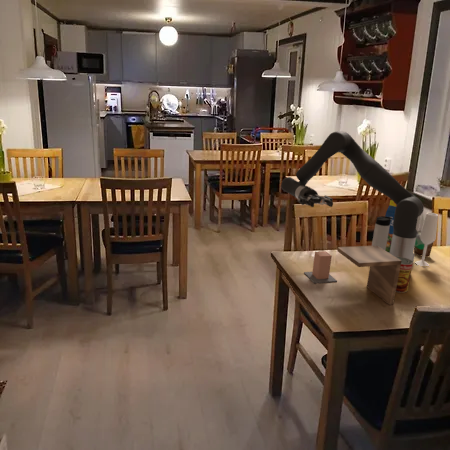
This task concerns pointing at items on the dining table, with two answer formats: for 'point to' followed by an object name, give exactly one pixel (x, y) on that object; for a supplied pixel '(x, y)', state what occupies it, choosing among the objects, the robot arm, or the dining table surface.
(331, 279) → the slate mat
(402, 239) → the robot arm
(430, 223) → the champagne flute
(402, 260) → the canned food
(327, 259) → the terracotta block
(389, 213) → the blue food package
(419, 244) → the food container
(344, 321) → the dining table surface
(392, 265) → the shelf nook
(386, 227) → the travel mug
